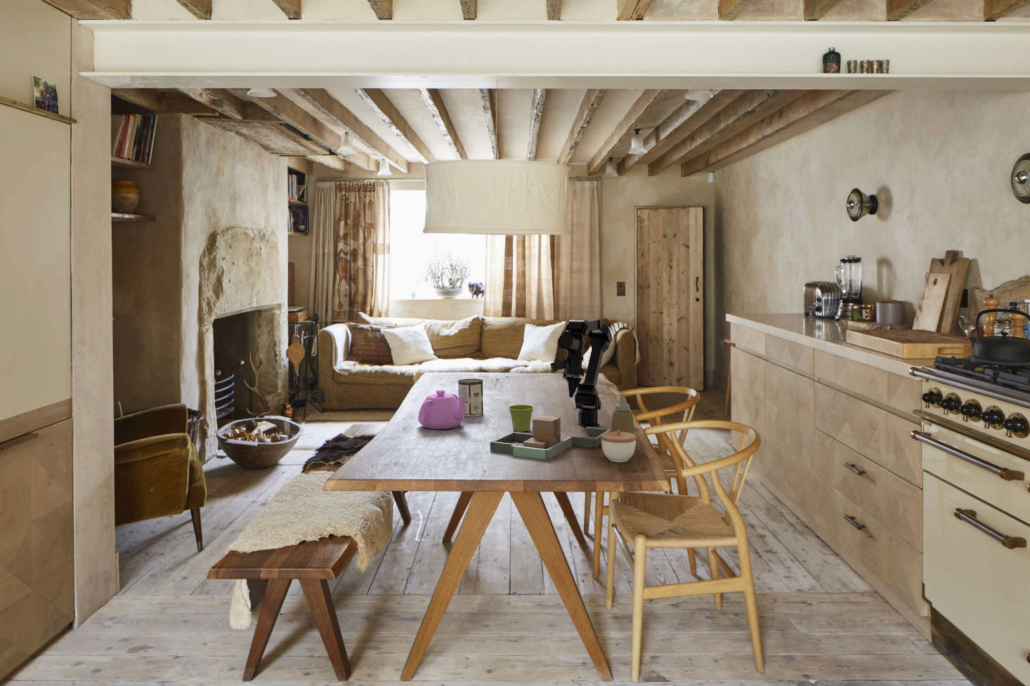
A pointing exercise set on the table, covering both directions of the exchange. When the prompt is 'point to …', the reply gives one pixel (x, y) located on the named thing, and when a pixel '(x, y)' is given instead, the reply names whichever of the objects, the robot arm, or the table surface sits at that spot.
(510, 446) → the bent walled tray
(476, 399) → the coffee can
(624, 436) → the lidded jar
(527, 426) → the plant pot
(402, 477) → the table surface
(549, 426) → the walnut block
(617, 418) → the squeeze bottle
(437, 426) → the teapot
